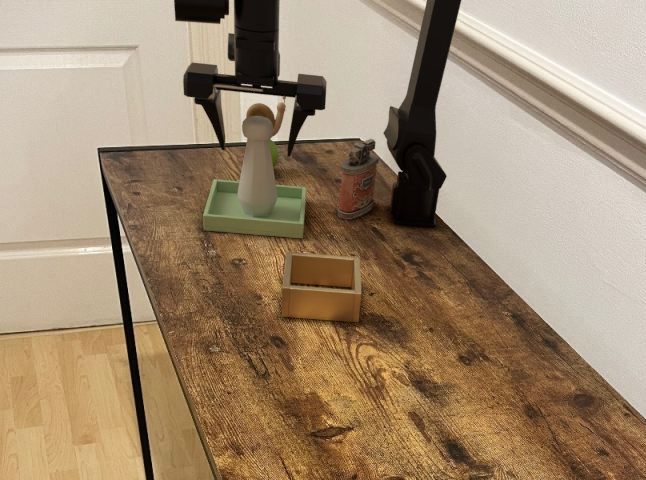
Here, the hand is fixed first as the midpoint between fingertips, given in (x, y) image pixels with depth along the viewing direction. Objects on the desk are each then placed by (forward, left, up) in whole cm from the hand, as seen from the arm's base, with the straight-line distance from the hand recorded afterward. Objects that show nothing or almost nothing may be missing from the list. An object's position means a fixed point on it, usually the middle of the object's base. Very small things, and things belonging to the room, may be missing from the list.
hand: (256, 152), depth 110 cm
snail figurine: (0, -17, -9) cm, 19 cm away
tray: (0, 0, -9) cm, 9 cm away
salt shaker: (0, 0, -9) cm, 9 cm away
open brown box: (-10, +24, -9) cm, 28 cm away
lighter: (-15, -5, -9) cm, 18 cm away
